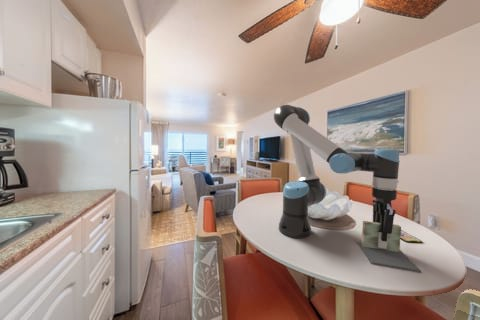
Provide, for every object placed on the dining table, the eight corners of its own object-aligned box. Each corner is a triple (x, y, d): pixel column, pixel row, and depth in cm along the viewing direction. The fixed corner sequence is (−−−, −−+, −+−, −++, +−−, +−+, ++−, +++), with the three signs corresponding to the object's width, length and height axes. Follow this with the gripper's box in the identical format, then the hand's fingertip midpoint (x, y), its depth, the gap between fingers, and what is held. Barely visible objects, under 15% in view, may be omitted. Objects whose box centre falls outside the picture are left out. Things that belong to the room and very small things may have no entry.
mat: (371, 263, 62) (371, 262, 62) (357, 243, 76) (357, 241, 76) (421, 272, 58) (421, 270, 58) (397, 249, 72) (397, 247, 72)
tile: (363, 246, 72) (364, 222, 71) (361, 244, 74) (363, 220, 73) (399, 252, 69) (401, 227, 68) (396, 249, 70) (398, 224, 70)
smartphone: (395, 226, 91) (423, 241, 76) (395, 228, 91) (423, 244, 76) (380, 226, 92) (406, 241, 77) (380, 227, 92) (405, 243, 77)
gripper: (408, 193, 61) (402, 259, 63) (385, 184, 76) (382, 237, 77) (382, 192, 63) (377, 255, 65) (365, 183, 78) (362, 235, 80)
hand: (380, 245), depth 71 cm, fingers open, 2 cm apart
